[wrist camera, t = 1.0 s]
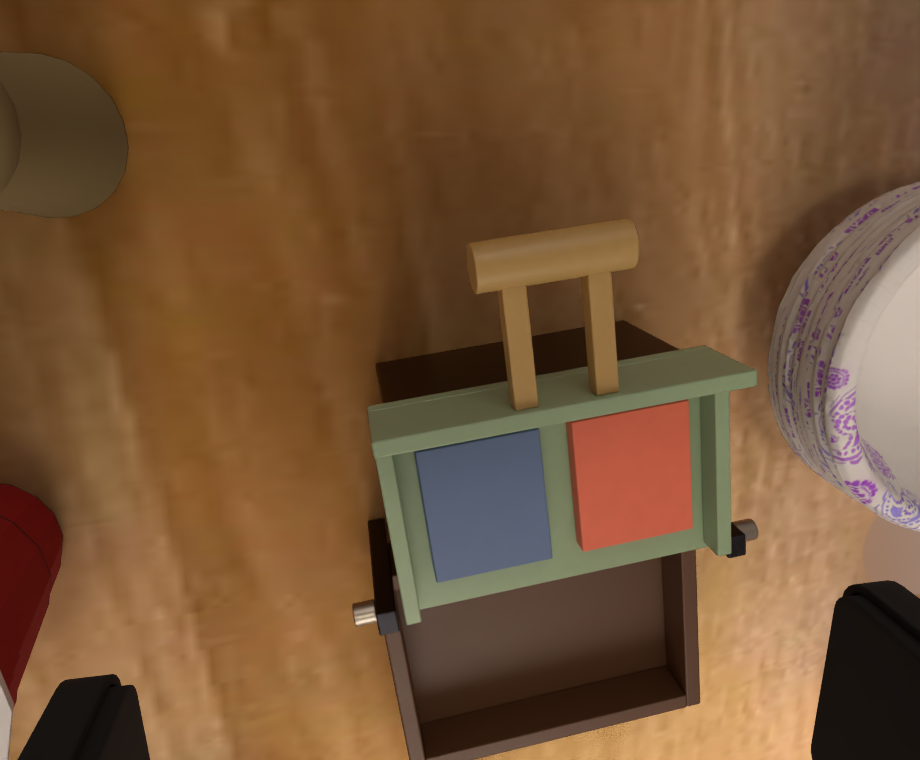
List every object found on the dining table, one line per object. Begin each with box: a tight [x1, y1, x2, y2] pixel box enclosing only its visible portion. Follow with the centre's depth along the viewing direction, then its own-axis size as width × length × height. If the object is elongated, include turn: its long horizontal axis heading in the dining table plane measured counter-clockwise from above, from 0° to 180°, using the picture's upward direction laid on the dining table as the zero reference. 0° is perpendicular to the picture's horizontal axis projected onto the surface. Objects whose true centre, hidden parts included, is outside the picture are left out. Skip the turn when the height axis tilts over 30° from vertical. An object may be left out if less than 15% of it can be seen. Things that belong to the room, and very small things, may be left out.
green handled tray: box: [367, 218, 757, 625], centre depth 25 cm, size 13×14×4 cm
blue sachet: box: [414, 428, 552, 583], centre depth 26 cm, size 5×6×1 cm
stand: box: [352, 320, 758, 635], centre depth 30 cm, size 17×9×8 cm, turn 98°
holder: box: [385, 543, 700, 760], centre depth 36 cm, size 16×12×3 cm
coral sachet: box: [566, 399, 693, 552], centre depth 27 cm, size 5×6×1 cm
